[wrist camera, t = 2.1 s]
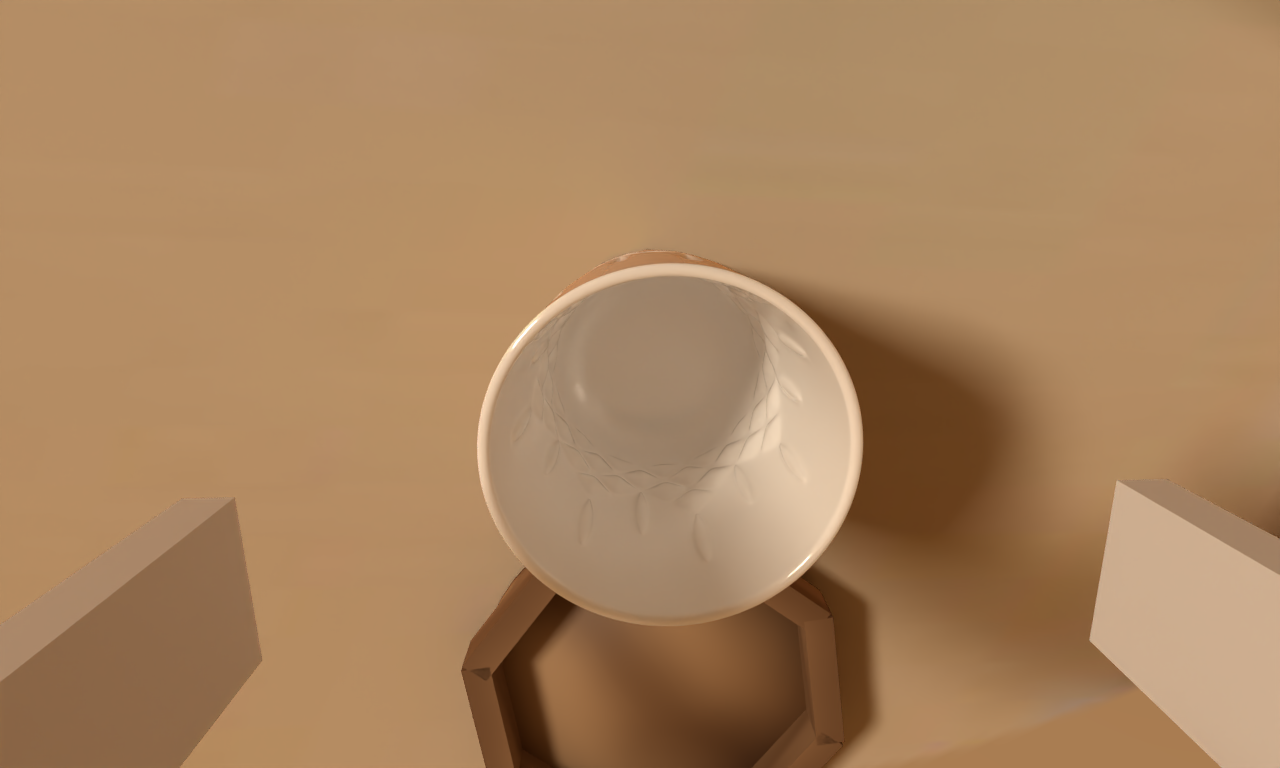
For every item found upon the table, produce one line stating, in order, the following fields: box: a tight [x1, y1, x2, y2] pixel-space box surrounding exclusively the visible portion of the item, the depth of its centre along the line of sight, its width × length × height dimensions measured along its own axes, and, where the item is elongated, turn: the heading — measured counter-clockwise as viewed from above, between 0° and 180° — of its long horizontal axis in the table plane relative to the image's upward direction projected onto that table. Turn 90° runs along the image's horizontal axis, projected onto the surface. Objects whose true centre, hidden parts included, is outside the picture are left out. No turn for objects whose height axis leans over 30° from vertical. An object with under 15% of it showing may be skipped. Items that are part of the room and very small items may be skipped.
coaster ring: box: [461, 567, 844, 768], centre depth 27 cm, size 13×13×2 cm
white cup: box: [477, 249, 863, 626], centre depth 19 cm, size 8×8×10 cm
